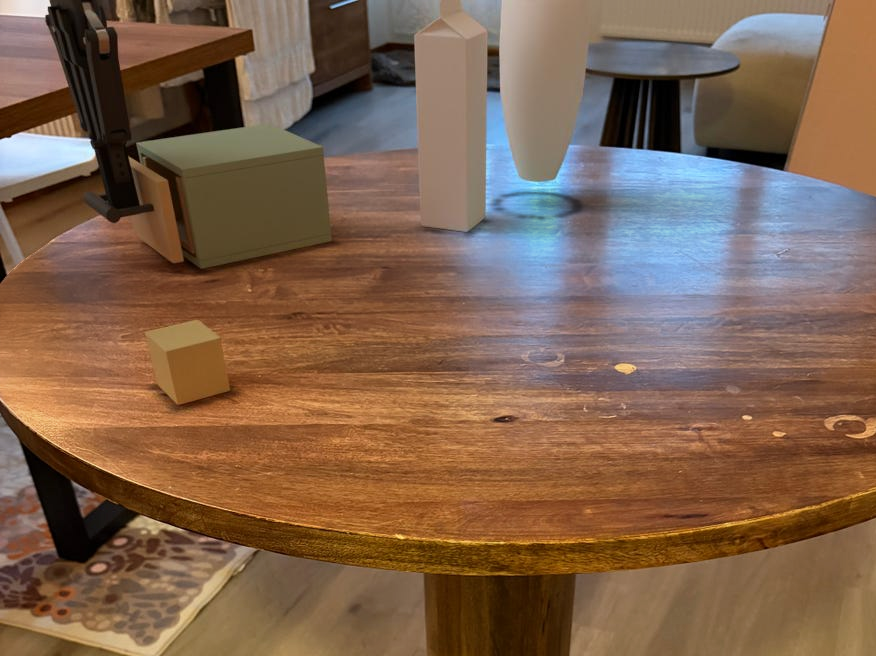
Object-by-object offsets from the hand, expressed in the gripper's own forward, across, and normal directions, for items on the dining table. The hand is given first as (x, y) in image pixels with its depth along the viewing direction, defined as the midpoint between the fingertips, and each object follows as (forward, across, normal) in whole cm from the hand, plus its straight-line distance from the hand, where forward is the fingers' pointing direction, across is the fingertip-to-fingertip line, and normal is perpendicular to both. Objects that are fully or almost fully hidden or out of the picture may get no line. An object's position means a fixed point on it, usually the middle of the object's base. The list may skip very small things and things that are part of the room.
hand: (126, 213), depth 94 cm
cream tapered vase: (+6, -8, -48) cm, 49 cm away
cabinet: (+5, 0, -12) cm, 13 cm away
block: (+5, -32, +7) cm, 33 cm away
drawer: (+4, 0, -7) cm, 8 cm away
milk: (+6, -8, -35) cm, 37 cm away
